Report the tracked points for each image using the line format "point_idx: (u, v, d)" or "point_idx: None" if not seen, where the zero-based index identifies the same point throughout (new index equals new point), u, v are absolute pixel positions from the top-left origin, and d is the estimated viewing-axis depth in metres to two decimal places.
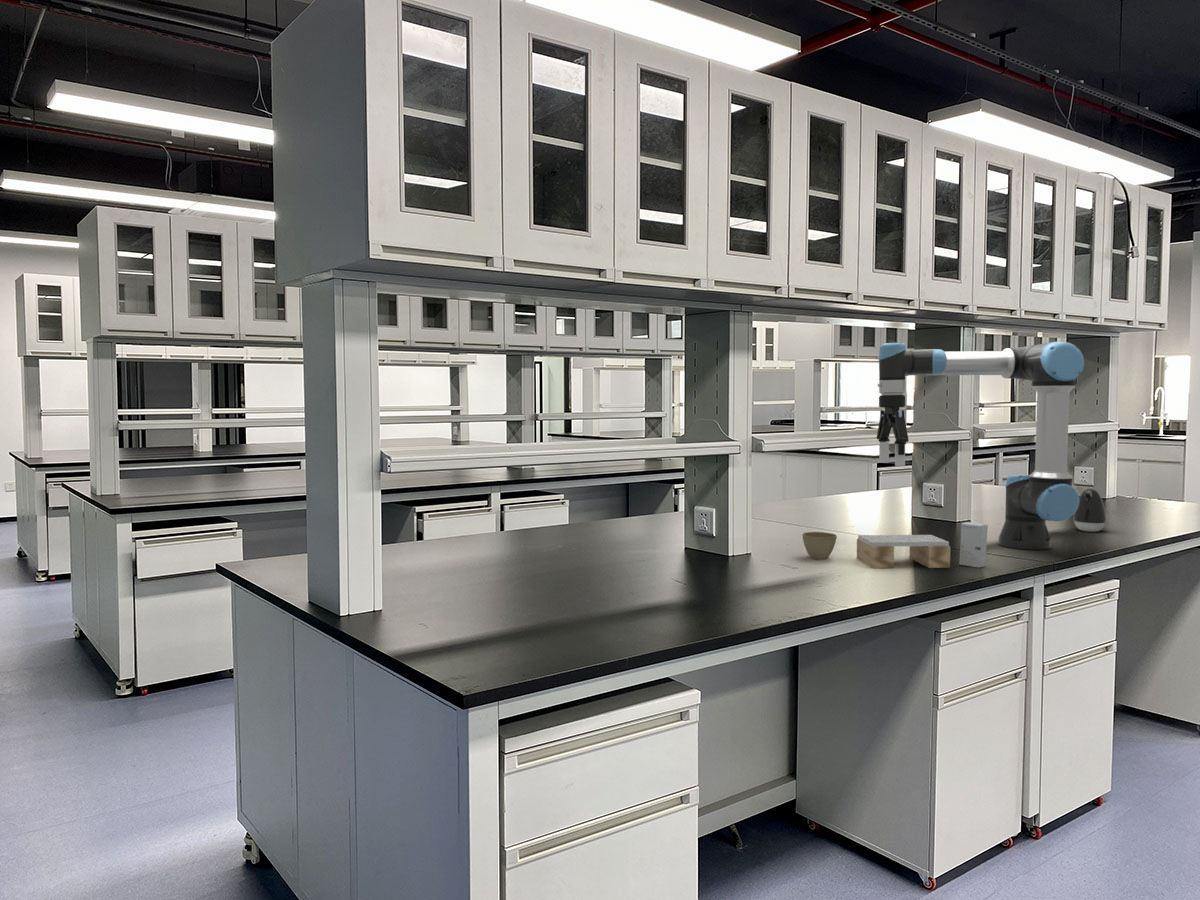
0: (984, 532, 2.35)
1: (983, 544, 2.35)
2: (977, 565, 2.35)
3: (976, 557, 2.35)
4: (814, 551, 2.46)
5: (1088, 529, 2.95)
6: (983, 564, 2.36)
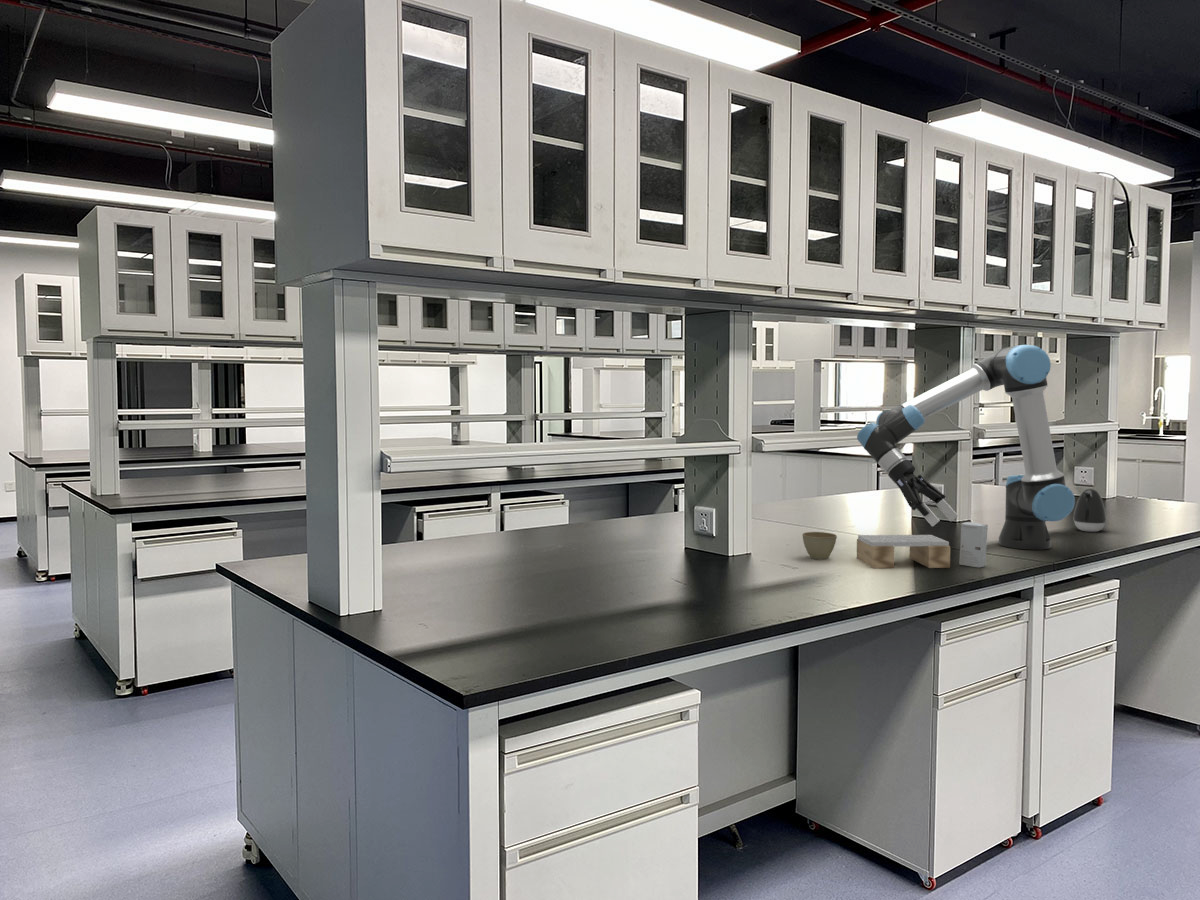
0: (984, 532, 2.35)
1: (983, 544, 2.35)
2: (977, 565, 2.35)
3: (976, 557, 2.35)
4: (814, 551, 2.46)
5: (1088, 529, 2.95)
6: (983, 564, 2.36)
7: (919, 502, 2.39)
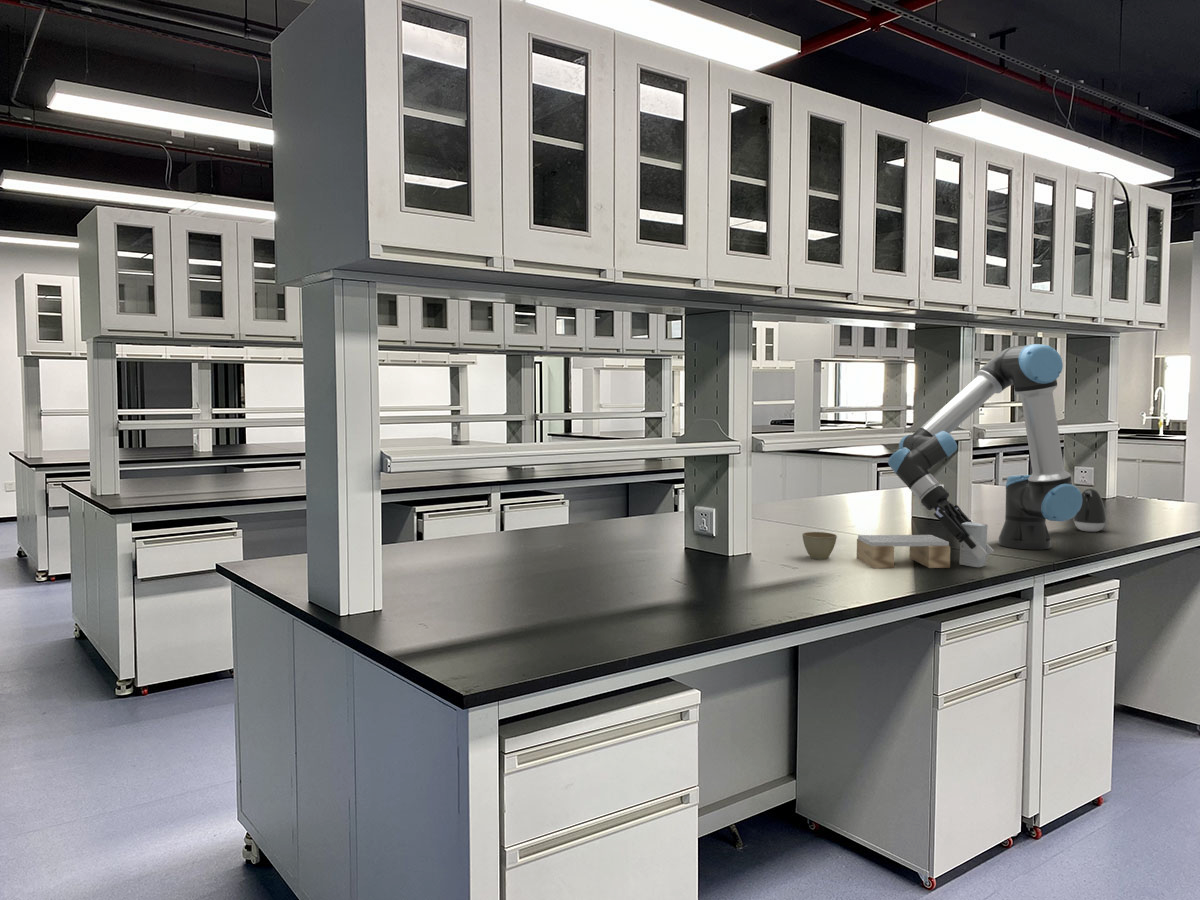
0: (984, 532, 2.35)
1: (983, 544, 2.35)
2: (977, 565, 2.35)
3: (976, 557, 2.35)
4: (814, 551, 2.46)
5: (1088, 529, 2.95)
6: (983, 564, 2.36)
7: (966, 535, 2.35)
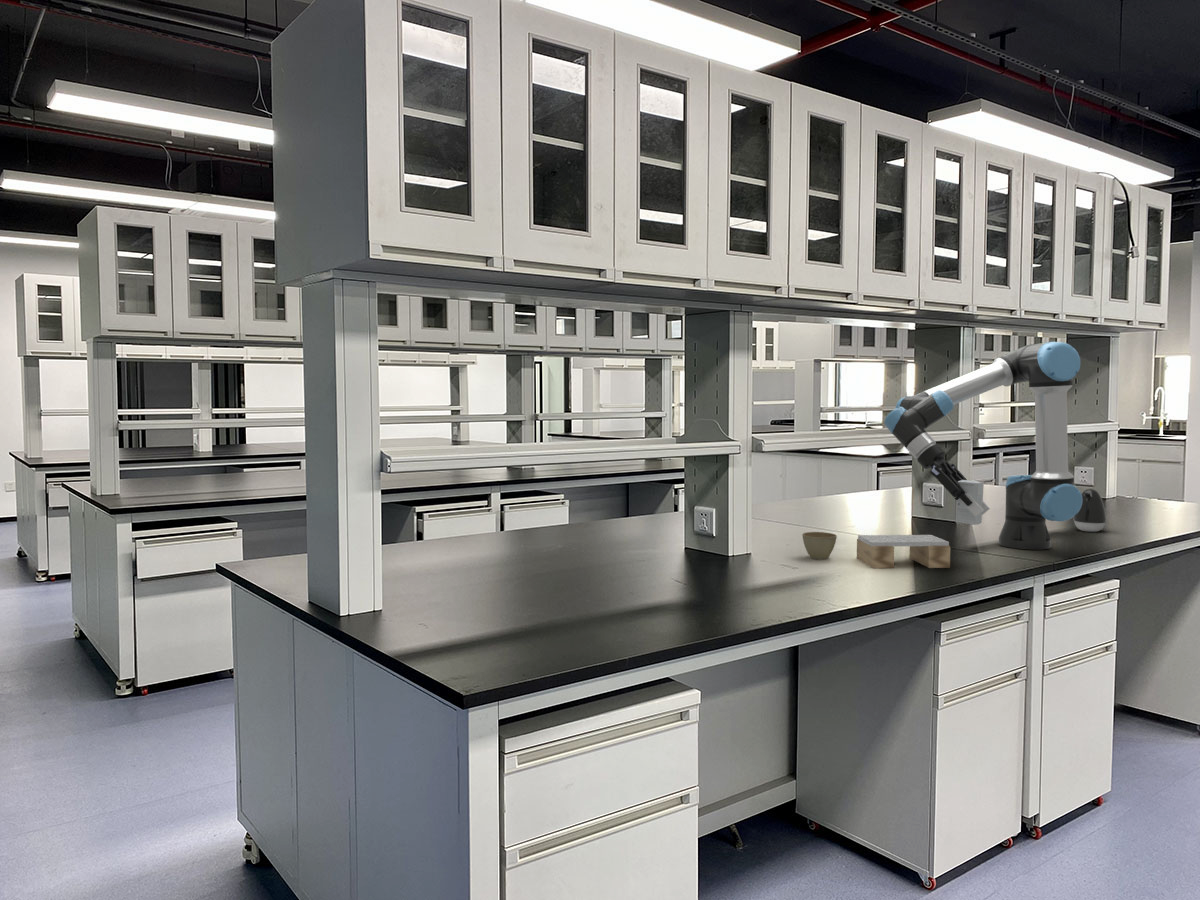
0: (980, 489, 2.34)
1: (979, 501, 2.35)
2: (973, 522, 2.34)
3: (972, 514, 2.34)
4: (814, 551, 2.46)
5: (1088, 529, 2.95)
6: (979, 521, 2.36)
7: (963, 492, 2.34)
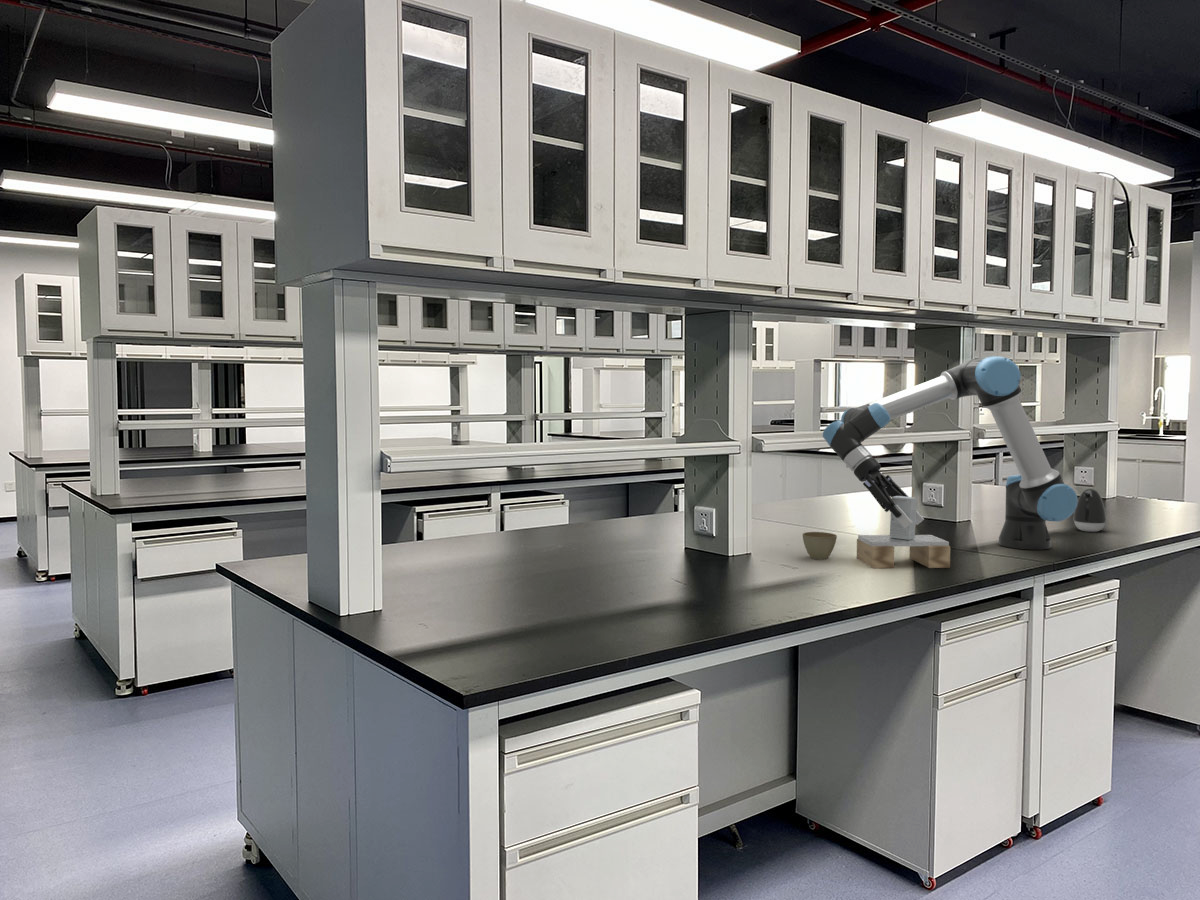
0: (913, 505, 2.39)
1: (913, 517, 2.39)
2: (906, 537, 2.38)
3: (905, 529, 2.38)
4: (814, 551, 2.46)
5: (1088, 529, 2.95)
6: (912, 536, 2.40)
7: (892, 504, 2.37)
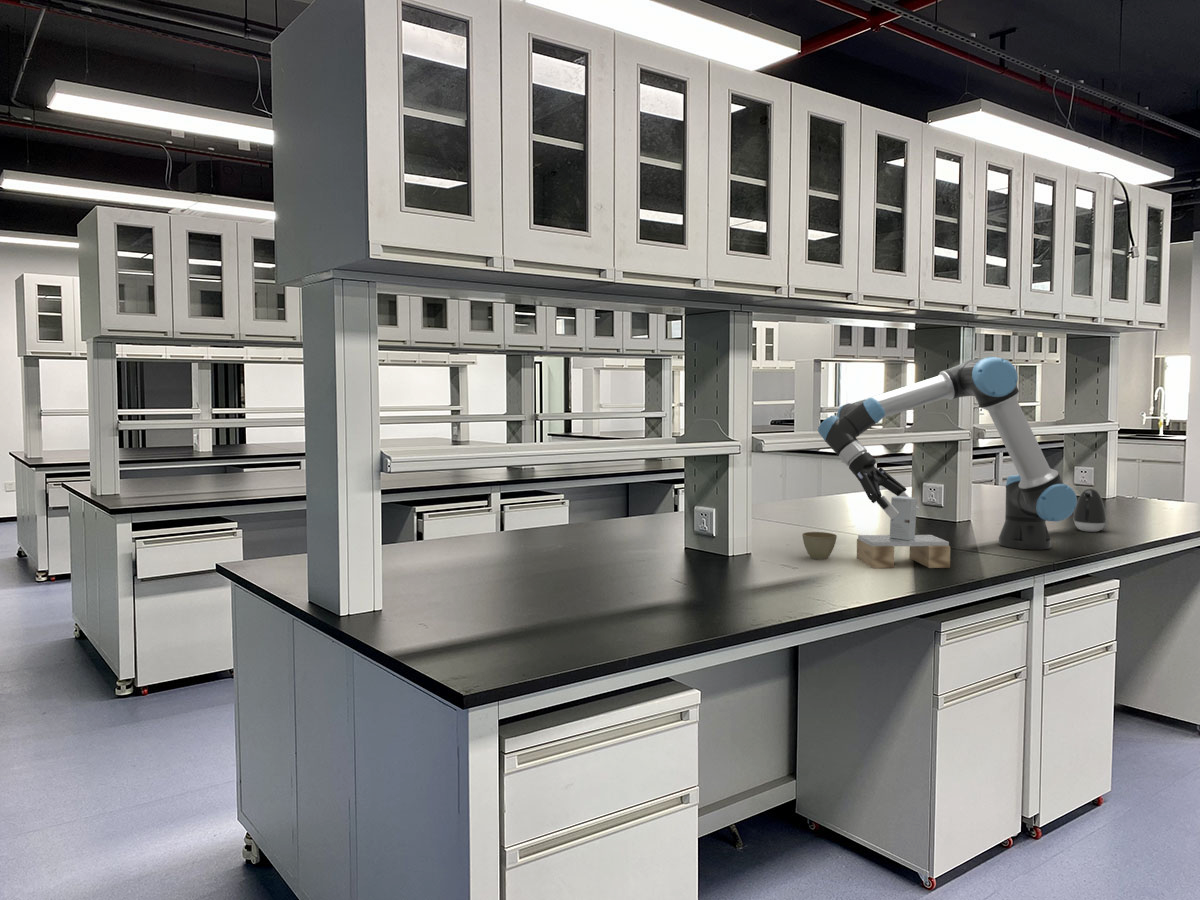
0: (913, 505, 2.38)
1: (912, 517, 2.39)
2: (906, 538, 2.38)
3: (905, 530, 2.38)
4: (814, 551, 2.46)
5: (1088, 529, 2.95)
6: (912, 537, 2.40)
7: (878, 495, 2.37)
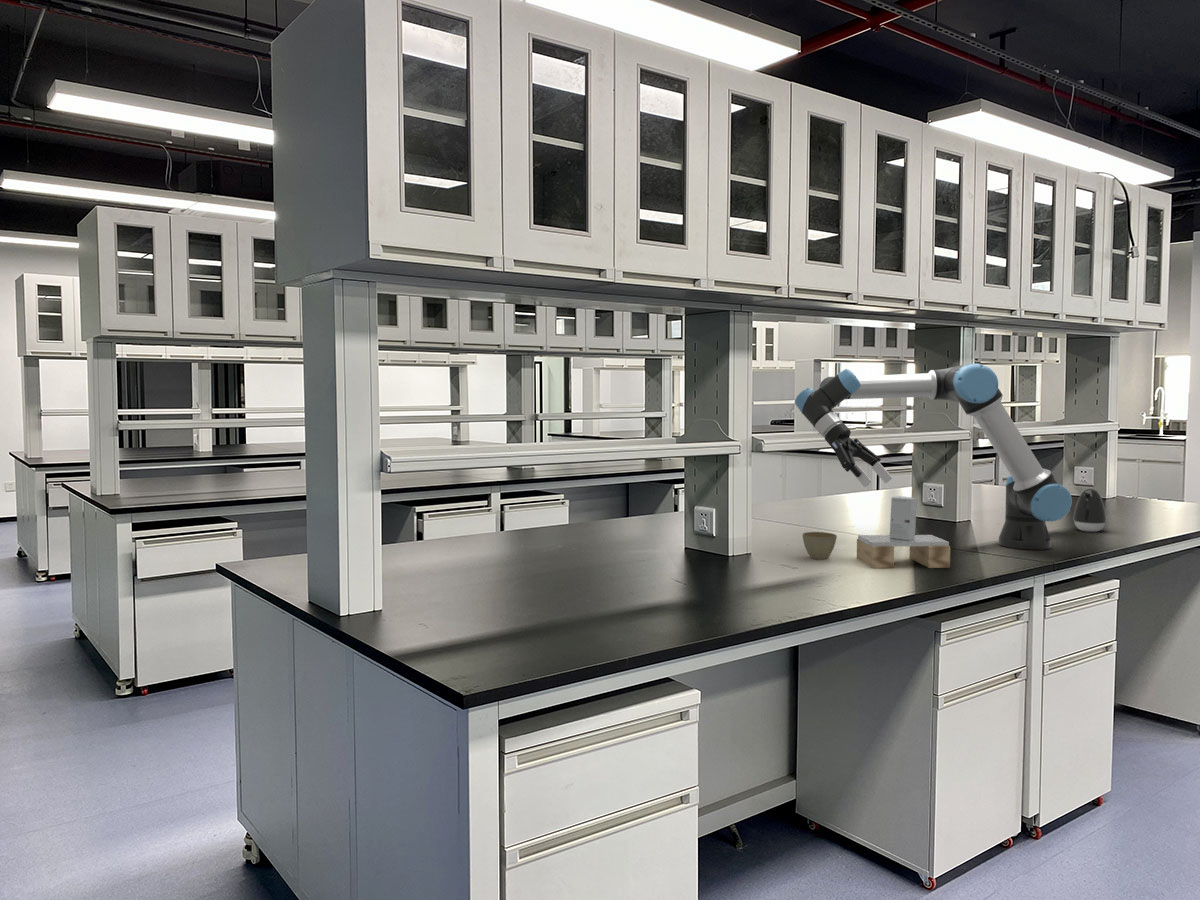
0: (913, 505, 2.38)
1: (912, 517, 2.39)
2: (906, 538, 2.38)
3: (905, 530, 2.38)
4: (814, 551, 2.46)
5: (1088, 529, 2.95)
6: (912, 537, 2.40)
7: (852, 463, 2.42)
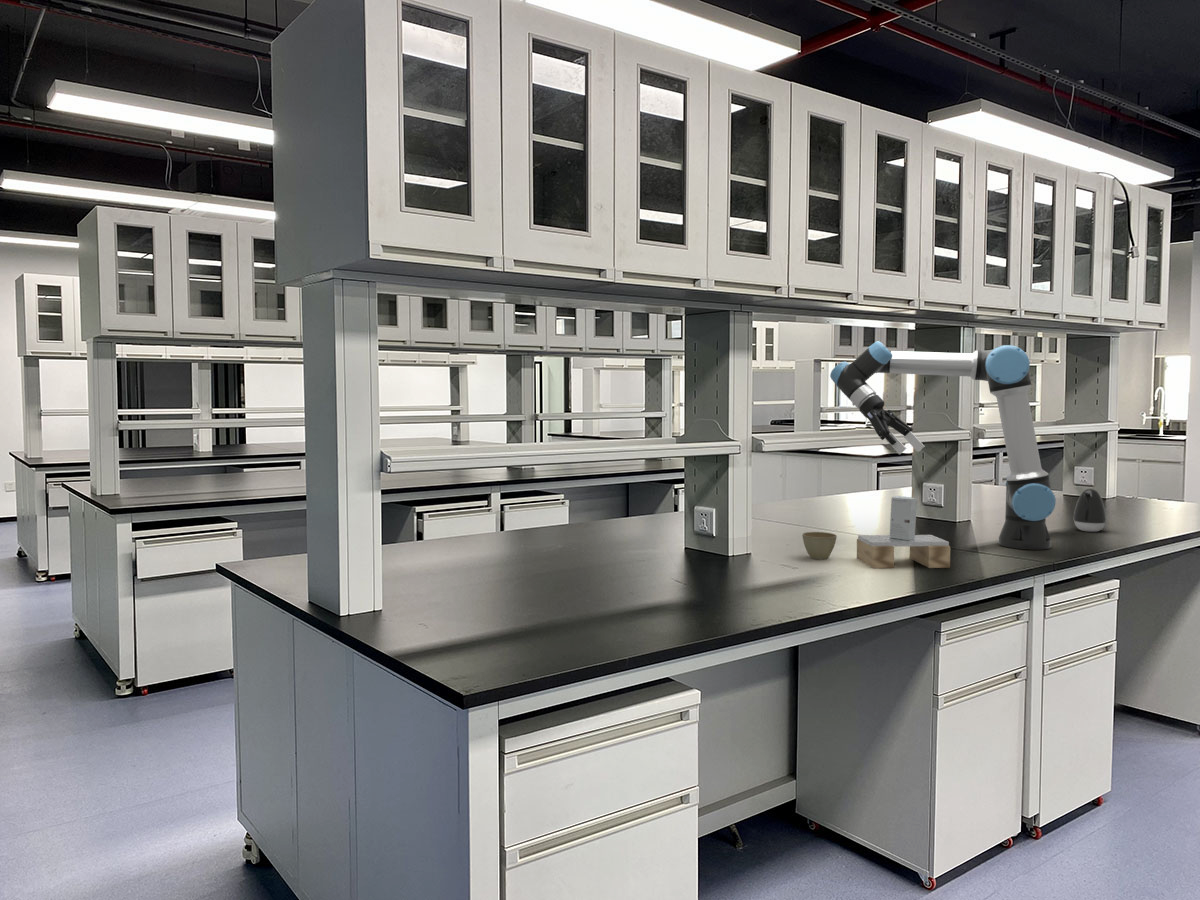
0: (913, 505, 2.38)
1: (912, 517, 2.39)
2: (906, 538, 2.38)
3: (905, 530, 2.38)
4: (814, 551, 2.46)
5: (1088, 529, 2.95)
6: (912, 537, 2.40)
7: (887, 432, 2.55)
